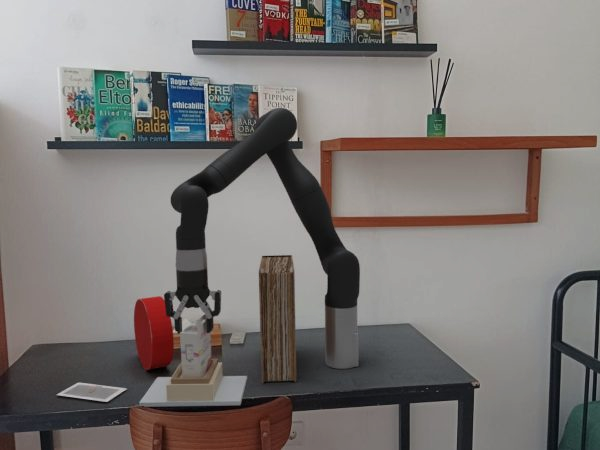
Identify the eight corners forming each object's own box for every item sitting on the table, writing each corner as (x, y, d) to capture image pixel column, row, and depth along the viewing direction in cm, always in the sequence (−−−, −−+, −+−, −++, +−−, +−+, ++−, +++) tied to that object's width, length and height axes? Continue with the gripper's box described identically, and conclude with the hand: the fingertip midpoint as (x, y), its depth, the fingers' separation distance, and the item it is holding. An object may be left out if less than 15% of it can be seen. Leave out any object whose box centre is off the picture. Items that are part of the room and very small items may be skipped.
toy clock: (175, 375, 135) (172, 304, 133) (153, 380, 132) (150, 307, 130) (155, 353, 152) (152, 290, 150) (135, 357, 149) (132, 292, 147)
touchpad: (107, 406, 119) (106, 397, 118) (56, 399, 123) (55, 390, 123) (127, 392, 126) (127, 384, 126) (78, 386, 130) (78, 378, 130)
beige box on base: (247, 379, 132) (246, 356, 131) (240, 405, 117) (239, 380, 116) (157, 380, 132) (156, 358, 131) (139, 406, 117) (138, 381, 116)
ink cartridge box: (194, 366, 129) (191, 310, 127) (212, 366, 128) (210, 311, 126) (181, 379, 120) (178, 320, 119) (200, 380, 119) (198, 321, 118)
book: (296, 383, 129) (294, 270, 126) (261, 384, 128) (258, 271, 126) (293, 349, 154) (291, 254, 151) (264, 350, 154) (261, 255, 151)
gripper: (223, 263, 125) (225, 327, 127) (166, 264, 125) (169, 328, 127) (218, 269, 118) (220, 337, 119) (158, 270, 118) (161, 337, 119)
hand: (194, 332), depth 123 cm, fingers open, 6 cm apart
